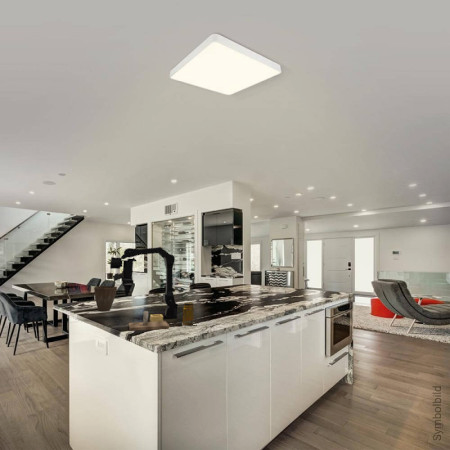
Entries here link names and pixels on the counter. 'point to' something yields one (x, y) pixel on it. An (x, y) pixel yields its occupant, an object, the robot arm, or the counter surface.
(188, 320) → the condiment
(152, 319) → the open wall cube
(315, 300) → the counter surface
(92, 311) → the counter surface
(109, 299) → the plant pot
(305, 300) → the counter surface
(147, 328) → the board
